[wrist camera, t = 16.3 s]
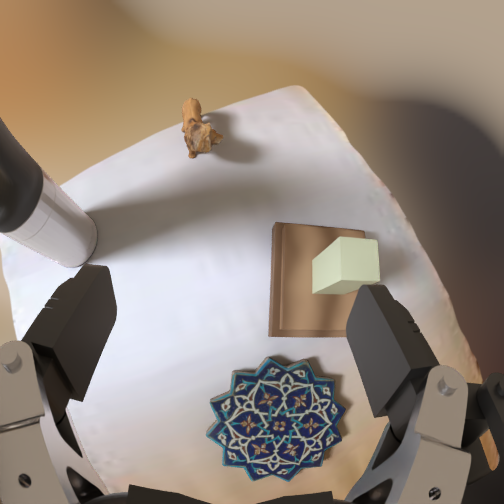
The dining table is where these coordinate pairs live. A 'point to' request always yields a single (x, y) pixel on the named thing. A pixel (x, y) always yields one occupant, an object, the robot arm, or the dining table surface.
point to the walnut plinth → (305, 283)
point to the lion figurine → (197, 129)
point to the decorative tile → (276, 420)
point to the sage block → (345, 266)
